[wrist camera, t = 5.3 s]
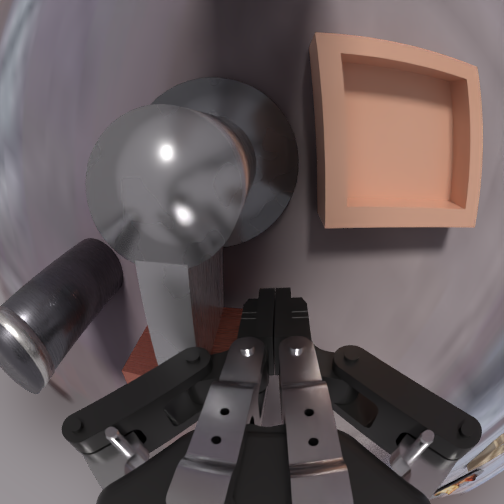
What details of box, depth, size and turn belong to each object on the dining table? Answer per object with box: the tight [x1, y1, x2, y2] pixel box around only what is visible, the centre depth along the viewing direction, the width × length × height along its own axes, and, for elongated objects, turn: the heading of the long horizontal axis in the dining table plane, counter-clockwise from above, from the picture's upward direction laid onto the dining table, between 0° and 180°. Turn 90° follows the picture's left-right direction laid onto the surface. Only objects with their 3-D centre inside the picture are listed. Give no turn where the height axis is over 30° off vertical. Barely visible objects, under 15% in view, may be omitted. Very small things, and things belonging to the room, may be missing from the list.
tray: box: [309, 32, 483, 228], centre depth 11 cm, size 9×9×2 cm
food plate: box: [430, 470, 483, 499], centre depth 48 cm, size 25×23×4 cm
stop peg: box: [0, 238, 123, 394], centre depth 13 cm, size 4×4×10 cm
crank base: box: [150, 77, 298, 247], centre depth 13 cm, size 9×9×1 cm
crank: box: [86, 104, 257, 384], centre depth 12 cm, size 12×6×6 cm, turn 178°
